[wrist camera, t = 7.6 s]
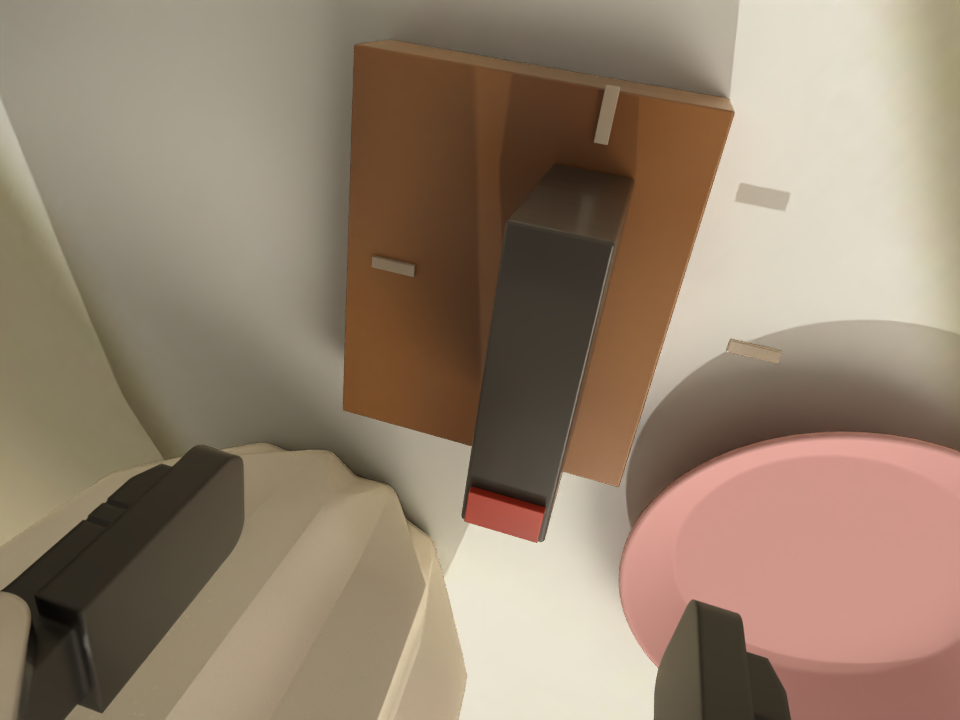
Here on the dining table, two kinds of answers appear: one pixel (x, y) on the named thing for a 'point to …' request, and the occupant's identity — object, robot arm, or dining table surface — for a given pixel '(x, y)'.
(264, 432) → the dining table surface
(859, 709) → the plate
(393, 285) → the oak panel
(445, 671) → the vase
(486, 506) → the bar knob
